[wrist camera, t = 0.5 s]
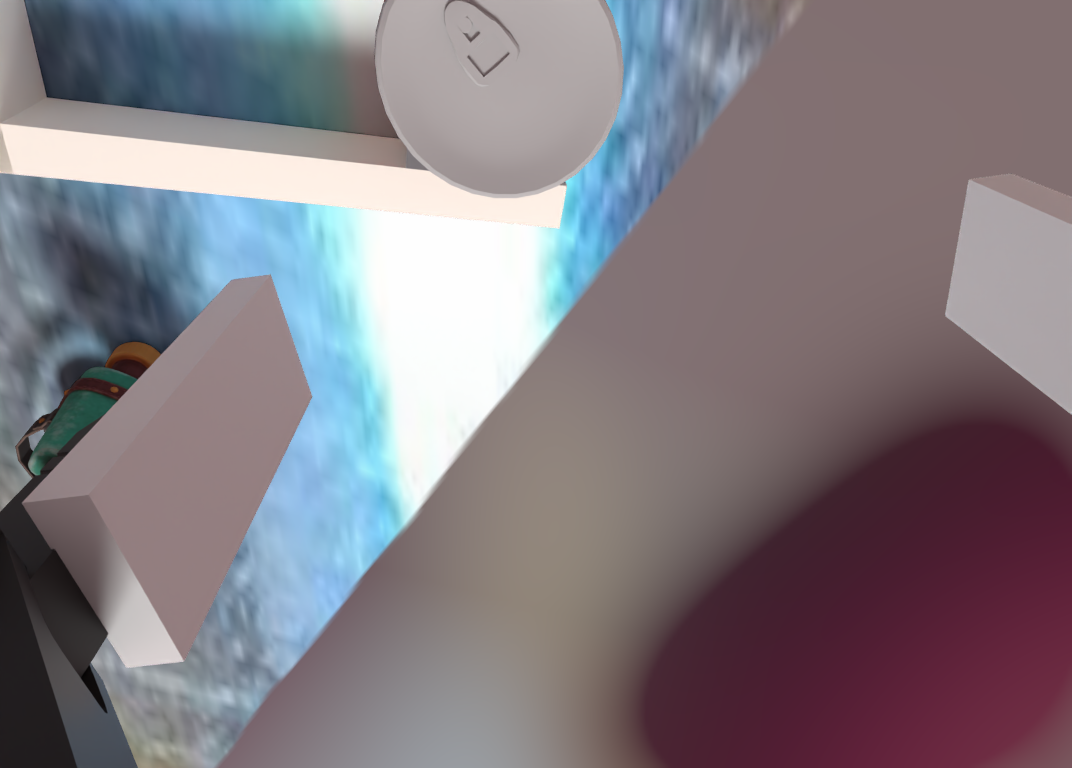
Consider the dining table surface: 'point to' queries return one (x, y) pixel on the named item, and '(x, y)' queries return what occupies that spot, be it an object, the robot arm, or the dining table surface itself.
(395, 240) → the dining table surface
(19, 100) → the white rectangular tray
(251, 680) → the dining table surface
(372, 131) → the dining table surface
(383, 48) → the canned food
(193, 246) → the dining table surface
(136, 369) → the binoculars
